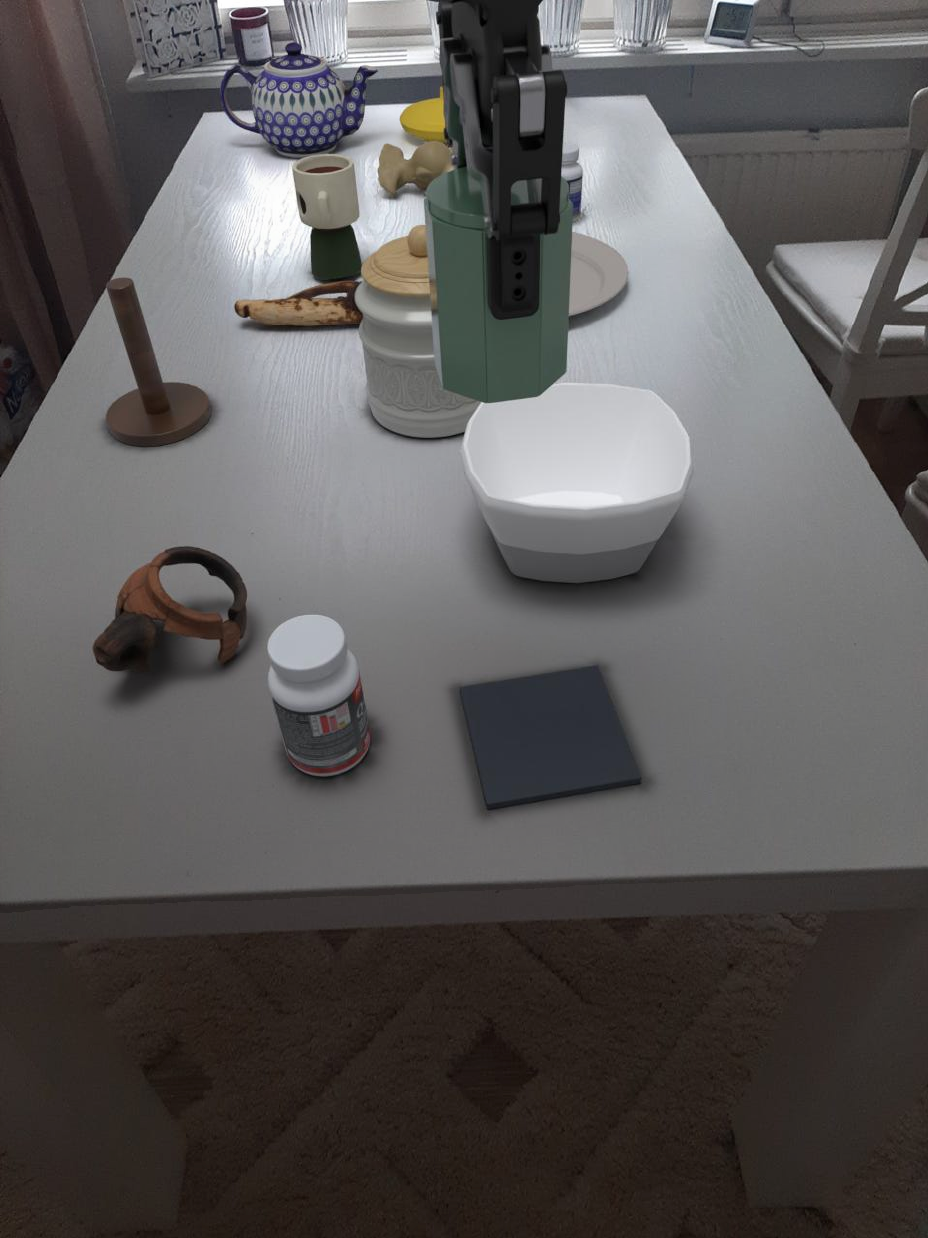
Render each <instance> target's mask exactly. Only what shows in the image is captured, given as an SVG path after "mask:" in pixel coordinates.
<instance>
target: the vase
mask: <svg viewBox="0 0 928 1238" xmlns="http://www.w3.org/2000/svg"><path fill="white" fill-rule="evenodd" d="M443 106H444V100H443V85H442V86H440V87H439V97H434V98H429V99H424V100H420V101H417V102H414V103H411V104H410V105H408V106H407V107H405V108H404V109H403V111H402V112H401V113H400V115H399V123H400V125H401V128H402V129H403V130H404V132H406V133H408V134H409V135H412V136H413V137H416V138H417V139H420V140H423V141H426V142H429V141H439V142H442V143H443V144H447V140H445V139H444V128H445V119H444V114H443Z"/></svg>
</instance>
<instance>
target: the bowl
mask: <svg viewBox="0 0 928 1238" xmlns="http://www.w3.org/2000/svg"><path fill="white" fill-rule="evenodd" d="M459 456H460V460H461V464H462V468H463V473H464V476H465V481H466V482H467V485H468V486H469V489H470V491H471V493H472V495H473V497H474V499H475V502H476V504H477V506H478V509H479V510H480V512H481V515H482V517H483V519H484V521H485V523H486V524H487V527H488V528H489V530H490V532H491V534H492V536H493V539H494V541H495V544H496V545H497V548H498V549H499V552H500V554H501V556H502V558H503V559H504V561H505V563H506V566H507V567H508V569H509V571H510V573H512V574H513V575H514V576H516V577H519V578H524V579H531V580H535V581H542V582H554V583H569V584H582V583H591V582H597V581H605V580H612V579H613V580H614V579H617V578H621V577H624V576H629V575H632V574H636V573H638V572H639V571H640V569H641V568H642V567H643V565H644V563H645V562H646V561H647V559H648V557H649V555H650V554H651V552H652V551H653V549H654V548H655V546H656V544H657V542H658V541H659V540H660V538H661V536H662V535H663V534H664V532H665V531H666V529H667V527H668V526H669V524H670V523H671V521H672V519H673V518H674V516H675V515H676V513H677V512H678V510H679V508H680V506H681V504H682V503H683V502H684V500H685V497H686V496H687V495H686V494H687V492H688V489H689V486H690V483H691V480H692V478H693V475H694V459H693V443H692V439H691V437H690V436H689V434H688V432H687V430H686V428H685V427H684V425H683V423H682V422H681V419H680V418H679V416H678V415H677V413H676V412H675V411H674V410H673V409H672V408H671V407H670V406H669V405H668V404H667V403H666V402H665V401H664V400H663V399H662V398H661V397H660V396H659V395H657V394H656V392H654V391H653V390H649V389H644V388H639V387H638V388H636V387H632V386H625V385H620V384H613V383H590V382H589V383H587V382H560V383H554V384H553V385H552V386H551V387H550V388H548V389H547V390H546V391H545V392H544V393H543V394H542V395H540V396H538V397H533V398H525V399H518V400H510V401H503V402H495V403H483V402H481V404H480V405H479V407H478V408H477V409H476V411H475V412H474V414H473V415H472V417H471V418H470V420H469V421H468V423H467V427H466V430H465V432H464V435H463V438H462V442H461V446H460V451H459Z"/></svg>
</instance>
